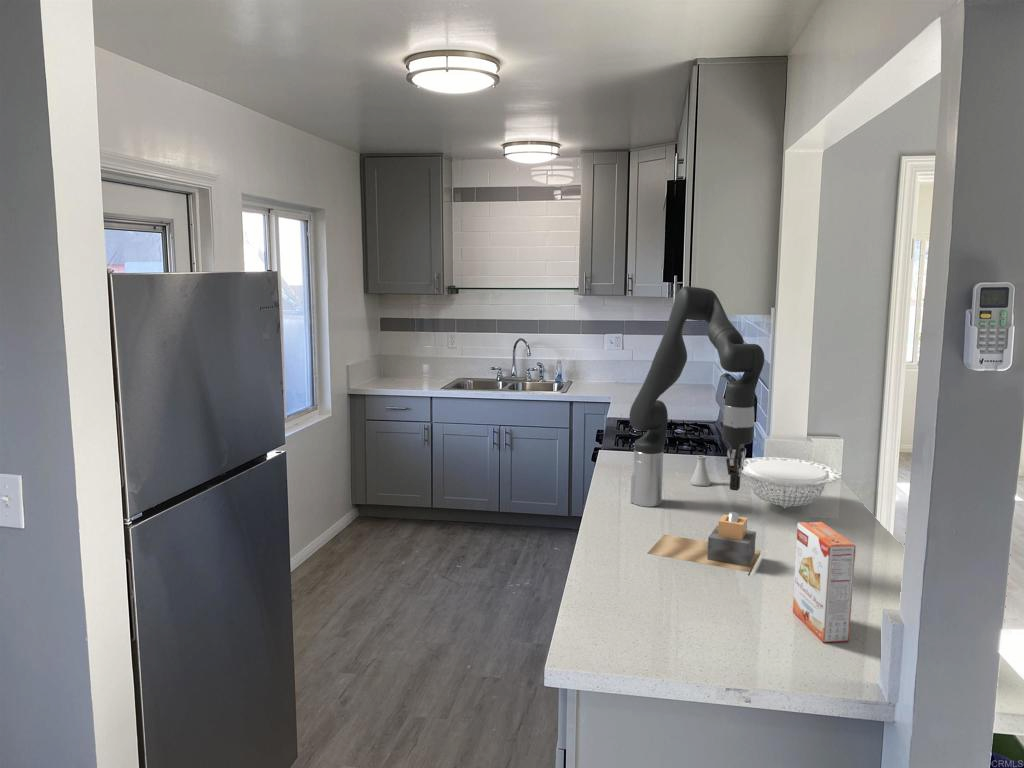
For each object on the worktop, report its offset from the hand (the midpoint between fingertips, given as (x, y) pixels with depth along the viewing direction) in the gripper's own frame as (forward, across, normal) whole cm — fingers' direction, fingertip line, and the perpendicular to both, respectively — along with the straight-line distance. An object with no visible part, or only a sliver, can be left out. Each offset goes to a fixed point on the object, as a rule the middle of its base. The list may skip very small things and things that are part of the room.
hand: (734, 489), depth 193 cm
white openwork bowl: (+19, -52, +6) cm, 56 cm away
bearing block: (+19, 0, -7) cm, 20 cm away
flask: (+20, -67, -24) cm, 74 cm away
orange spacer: (+12, 0, 0) cm, 12 cm away
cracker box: (+19, +29, +24) cm, 42 cm away
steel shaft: (+17, 0, 0) cm, 17 cm away
